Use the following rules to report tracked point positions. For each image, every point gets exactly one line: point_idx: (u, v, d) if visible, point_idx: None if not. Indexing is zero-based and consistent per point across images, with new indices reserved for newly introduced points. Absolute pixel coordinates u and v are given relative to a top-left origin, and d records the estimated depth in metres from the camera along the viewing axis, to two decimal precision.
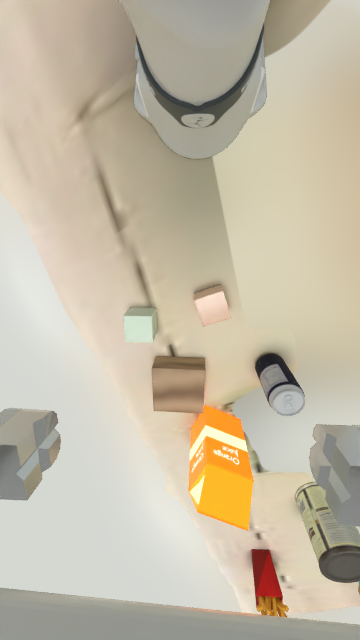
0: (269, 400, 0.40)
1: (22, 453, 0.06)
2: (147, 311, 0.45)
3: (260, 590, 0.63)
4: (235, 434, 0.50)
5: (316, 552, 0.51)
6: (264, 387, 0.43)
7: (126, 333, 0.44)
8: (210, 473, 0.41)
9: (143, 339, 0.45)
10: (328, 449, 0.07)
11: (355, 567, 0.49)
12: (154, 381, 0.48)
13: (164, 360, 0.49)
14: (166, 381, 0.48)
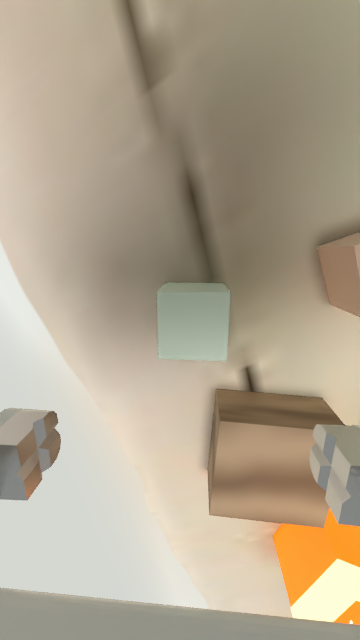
0: None
1: (22, 453, 0.06)
2: (211, 286, 0.19)
3: None
4: None
5: None
6: None
7: (160, 339, 0.18)
8: None
9: (203, 352, 0.18)
10: (328, 449, 0.07)
11: None
12: (221, 452, 0.20)
13: (239, 400, 0.22)
14: (250, 453, 0.20)
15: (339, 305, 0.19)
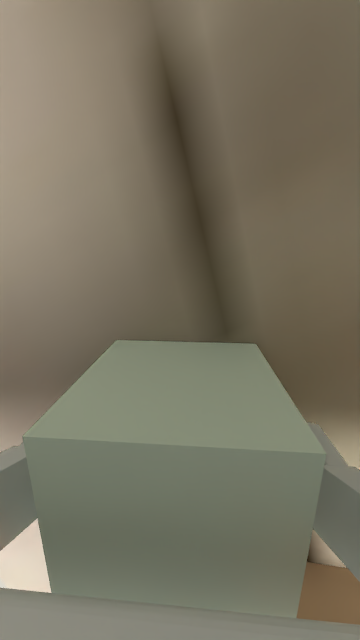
0: None
1: None
2: (230, 374, 0.06)
3: None
4: None
5: None
6: None
7: (57, 578, 0.05)
8: None
9: None
10: None
11: None
12: None
13: None
14: None
15: None
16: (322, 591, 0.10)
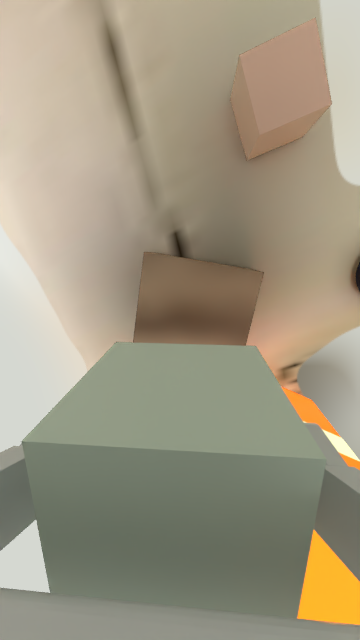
0: None
1: None
2: (230, 377, 0.06)
3: None
4: None
5: None
6: None
7: (56, 583, 0.05)
8: None
9: None
10: None
11: None
12: (144, 288, 0.21)
13: None
14: (171, 291, 0.21)
15: (249, 150, 0.21)
16: None
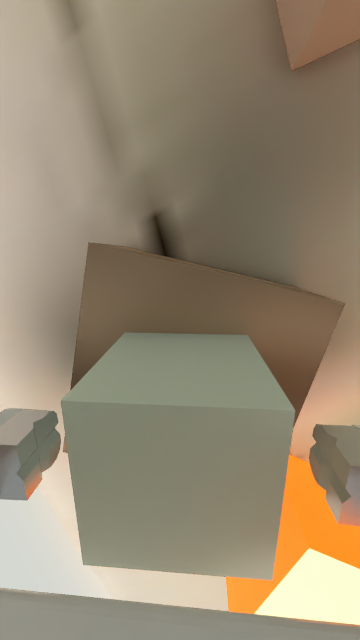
0: None
1: (22, 454, 0.06)
2: (224, 358, 0.08)
3: None
4: None
5: None
6: None
7: (84, 521, 0.06)
8: None
9: (208, 558, 0.06)
10: (328, 449, 0.07)
11: None
12: (88, 318, 0.10)
13: (153, 254, 0.12)
14: (145, 328, 0.10)
15: (303, 34, 0.10)
16: (180, 260, 0.13)
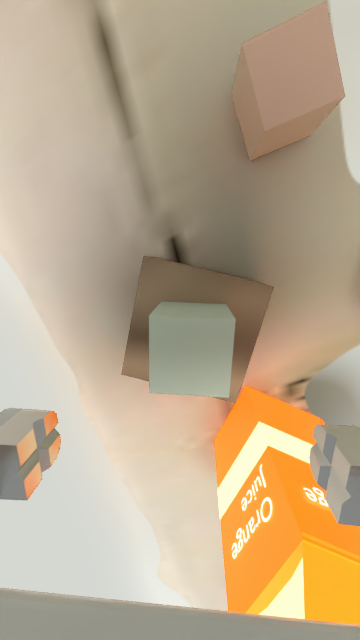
0: None
1: (22, 454, 0.06)
2: (212, 309, 0.17)
3: None
4: None
5: None
6: None
7: (152, 370, 0.15)
8: (322, 581, 0.11)
9: (202, 387, 0.15)
10: (328, 449, 0.07)
11: None
12: (141, 295, 0.19)
13: None
14: (171, 300, 0.19)
15: (252, 149, 0.19)
16: (188, 265, 0.22)
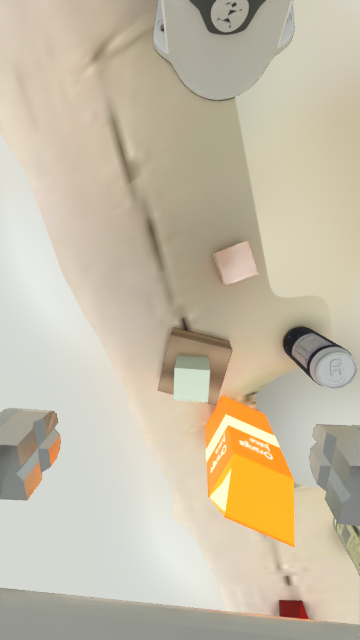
0: (310, 369, 0.32)
1: (22, 453, 0.06)
2: (201, 362, 0.37)
3: None
4: (262, 428, 0.41)
5: None
6: (300, 358, 0.35)
7: (174, 390, 0.36)
8: (238, 466, 0.31)
9: (196, 398, 0.36)
10: (328, 449, 0.07)
11: None
12: (168, 352, 0.40)
13: (184, 332, 0.42)
14: (183, 355, 0.40)
15: (222, 282, 0.40)
16: (191, 333, 0.43)
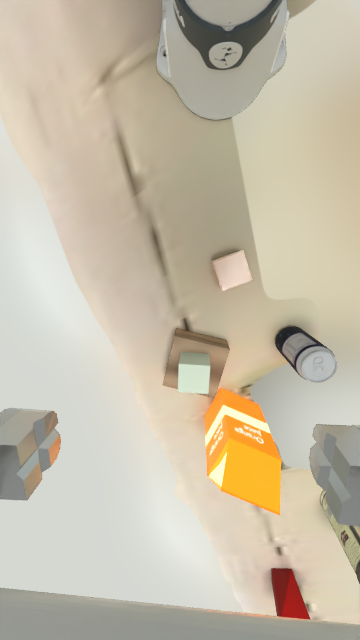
0: (297, 365, 0.37)
1: (22, 453, 0.06)
2: (202, 358, 0.42)
3: (284, 615, 0.54)
4: (255, 417, 0.46)
5: (352, 559, 0.44)
6: (289, 355, 0.39)
7: (179, 383, 0.40)
8: (233, 449, 0.36)
9: (198, 390, 0.40)
10: (328, 449, 0.07)
11: None
12: (172, 351, 0.44)
13: (186, 333, 0.46)
14: None
15: (220, 286, 0.44)
16: (193, 333, 0.47)
